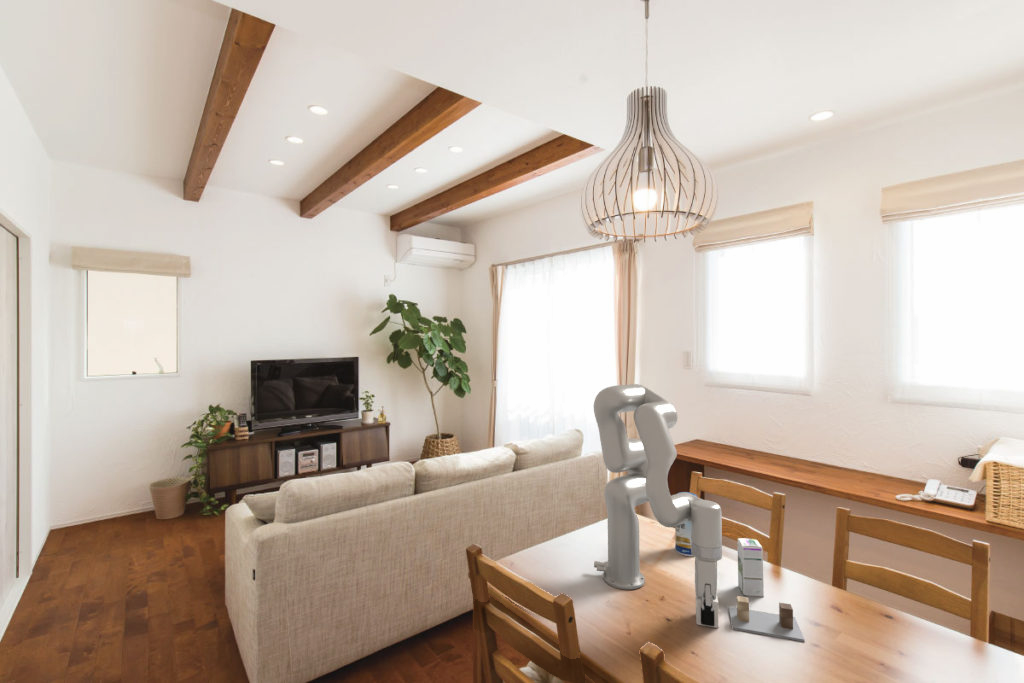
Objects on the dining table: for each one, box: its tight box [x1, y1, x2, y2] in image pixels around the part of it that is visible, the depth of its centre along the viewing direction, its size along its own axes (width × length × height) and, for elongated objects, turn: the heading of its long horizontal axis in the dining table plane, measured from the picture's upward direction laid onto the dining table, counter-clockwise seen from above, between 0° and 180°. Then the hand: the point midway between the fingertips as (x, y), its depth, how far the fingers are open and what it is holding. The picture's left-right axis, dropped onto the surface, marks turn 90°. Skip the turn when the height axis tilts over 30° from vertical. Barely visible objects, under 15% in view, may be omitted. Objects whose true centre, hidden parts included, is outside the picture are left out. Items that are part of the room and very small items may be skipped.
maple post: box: [736, 595, 750, 622], centre depth 125 cm, size 3×3×5 cm
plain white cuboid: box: [695, 592, 719, 629], centre depth 125 cm, size 5×5×7 cm
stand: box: [728, 606, 805, 643], centre depth 123 cm, size 16×10×1 cm, turn 71°
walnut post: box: [778, 602, 794, 629], centre depth 121 cm, size 3×3×5 cm
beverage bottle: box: [674, 491, 698, 557], centre depth 166 cm, size 8×8×20 cm
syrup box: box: [736, 537, 765, 598], centre depth 140 cm, size 6×6×14 cm
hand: (706, 617), depth 125 cm, fingers closed on plain white cuboid, 5 cm apart
